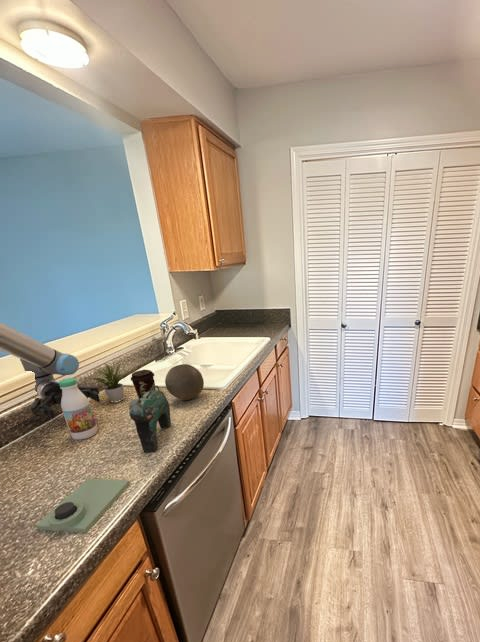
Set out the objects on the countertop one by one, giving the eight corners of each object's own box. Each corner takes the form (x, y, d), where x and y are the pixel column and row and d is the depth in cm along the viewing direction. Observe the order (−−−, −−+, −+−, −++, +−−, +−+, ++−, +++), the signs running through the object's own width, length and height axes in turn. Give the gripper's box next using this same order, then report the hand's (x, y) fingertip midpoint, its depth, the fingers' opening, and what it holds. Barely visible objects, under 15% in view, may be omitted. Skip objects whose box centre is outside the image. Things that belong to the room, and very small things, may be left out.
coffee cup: (156, 395, 138) (149, 367, 133) (163, 401, 132) (156, 371, 127) (135, 402, 133) (127, 372, 128) (140, 408, 127) (132, 377, 122)
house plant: (119, 390, 145) (109, 356, 139) (144, 393, 141) (134, 357, 135) (91, 404, 133) (79, 367, 127) (117, 407, 129) (106, 369, 122)
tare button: (67, 520, 70) (65, 514, 70) (53, 519, 71) (50, 513, 70) (80, 508, 74) (77, 502, 73) (65, 507, 74) (63, 501, 74)
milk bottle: (66, 438, 108) (46, 383, 100) (86, 427, 115) (68, 375, 107) (84, 441, 106) (64, 385, 98) (103, 429, 113) (86, 376, 105)
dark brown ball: (178, 393, 140) (171, 360, 134) (210, 392, 139) (204, 359, 133) (164, 408, 127) (156, 372, 121) (199, 407, 126) (193, 371, 120)
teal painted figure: (156, 455, 97) (141, 394, 89) (134, 456, 96) (117, 395, 89) (176, 422, 115) (165, 369, 107) (158, 423, 115) (145, 371, 107)
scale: (83, 535, 70) (79, 525, 68) (34, 532, 71) (29, 522, 70) (130, 483, 85) (127, 474, 84) (88, 482, 86) (85, 472, 85)
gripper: (92, 389, 129) (117, 402, 116) (14, 414, 111) (34, 432, 98) (87, 372, 126) (112, 382, 114) (6, 394, 108) (25, 410, 96)
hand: (76, 405), depth 106 cm, fingers open, 13 cm apart
